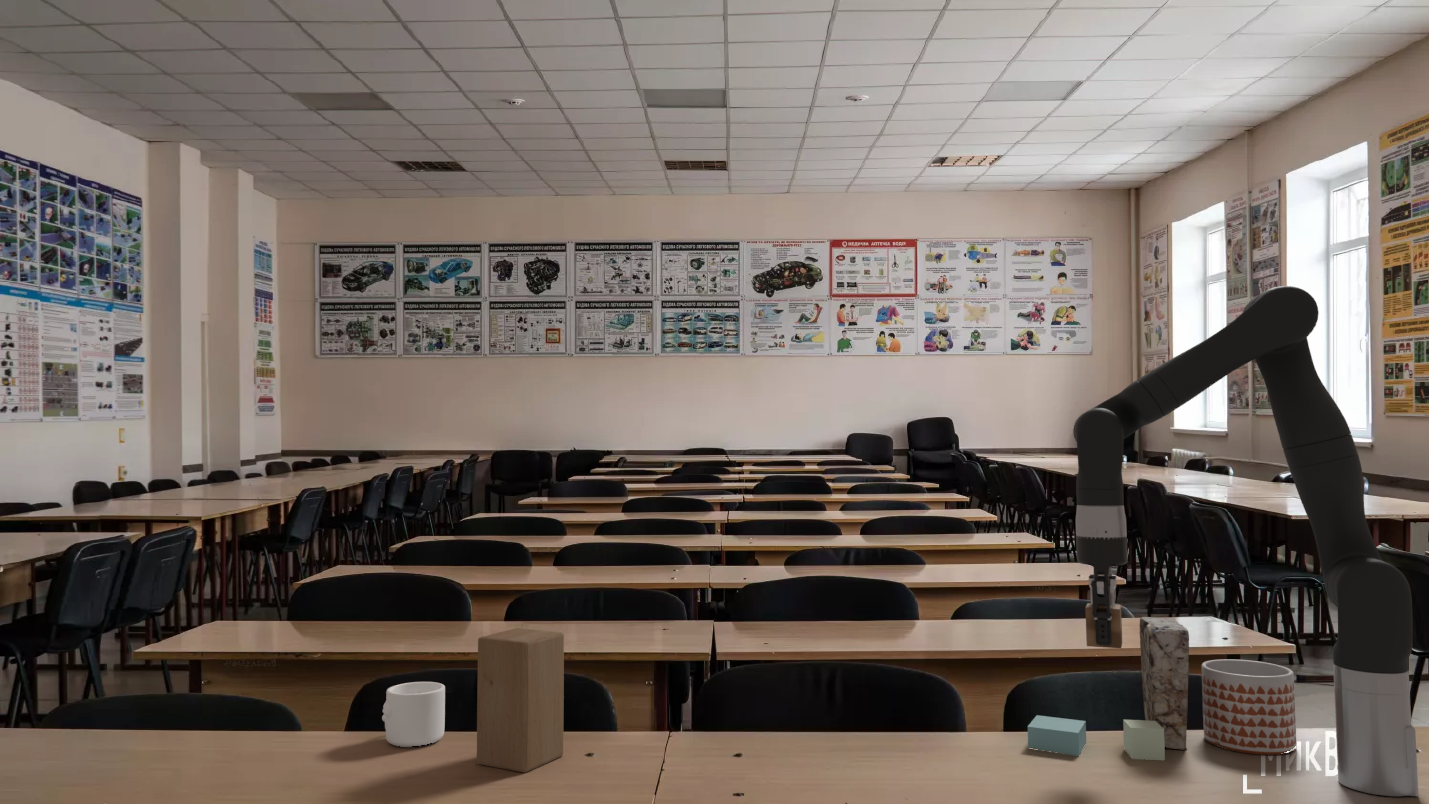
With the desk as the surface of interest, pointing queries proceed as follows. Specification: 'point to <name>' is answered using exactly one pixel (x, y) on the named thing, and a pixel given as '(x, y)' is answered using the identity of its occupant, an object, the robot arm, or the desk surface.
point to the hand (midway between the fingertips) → (1104, 641)
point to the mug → (414, 713)
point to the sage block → (1144, 739)
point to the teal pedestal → (1057, 735)
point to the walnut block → (1115, 626)
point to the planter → (1249, 706)
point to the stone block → (1165, 677)
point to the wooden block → (520, 699)
